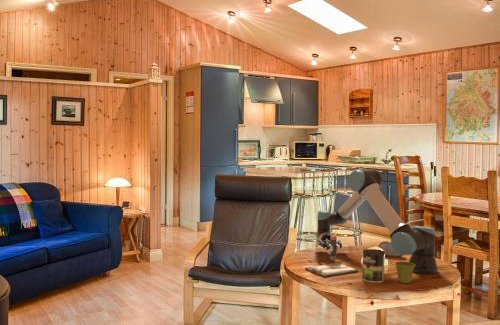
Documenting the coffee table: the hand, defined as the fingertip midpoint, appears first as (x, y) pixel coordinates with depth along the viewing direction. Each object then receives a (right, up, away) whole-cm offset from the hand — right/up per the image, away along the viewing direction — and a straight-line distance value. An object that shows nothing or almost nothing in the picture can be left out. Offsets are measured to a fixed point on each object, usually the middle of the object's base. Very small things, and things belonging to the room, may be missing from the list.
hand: (335, 248), depth 265 cm
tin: (+37, -9, +25) cm, 46 cm away
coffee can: (+14, -11, -24) cm, 30 cm away
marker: (0, -7, +6) cm, 9 cm away
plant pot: (+29, -12, -26) cm, 40 cm away
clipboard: (-4, -10, -9) cm, 14 cm away
